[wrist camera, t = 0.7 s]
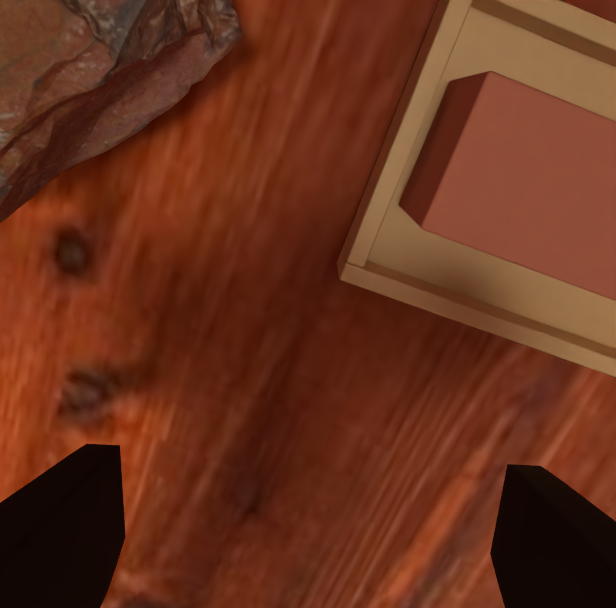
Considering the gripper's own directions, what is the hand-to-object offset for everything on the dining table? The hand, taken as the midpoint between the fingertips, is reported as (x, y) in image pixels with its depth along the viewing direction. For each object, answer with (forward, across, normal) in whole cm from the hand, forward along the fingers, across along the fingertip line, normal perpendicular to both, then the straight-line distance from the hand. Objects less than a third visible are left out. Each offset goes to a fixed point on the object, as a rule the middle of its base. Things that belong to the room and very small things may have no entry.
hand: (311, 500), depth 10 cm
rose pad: (+9, -6, -5) cm, 12 cm away
